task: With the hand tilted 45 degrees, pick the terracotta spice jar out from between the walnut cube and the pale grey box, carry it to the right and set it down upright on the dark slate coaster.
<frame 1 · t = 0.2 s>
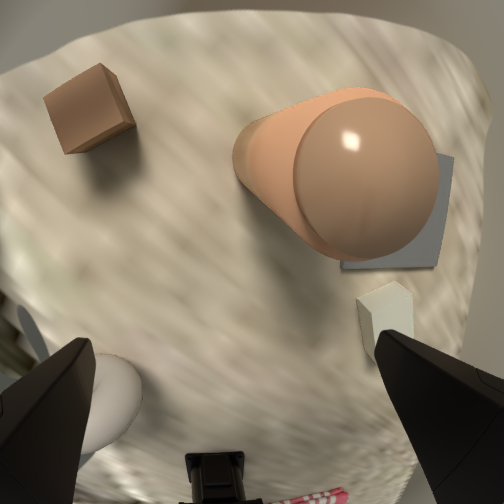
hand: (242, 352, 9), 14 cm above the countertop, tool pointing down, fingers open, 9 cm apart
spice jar: (273, 157, 22), on the countertop
slate coaster: (400, 207, 24), on the countertop
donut: (98, 361, 25), on the countertop
walnut cube: (100, 113, 19), on the countertop
grey box: (378, 315, 28), on the countertop
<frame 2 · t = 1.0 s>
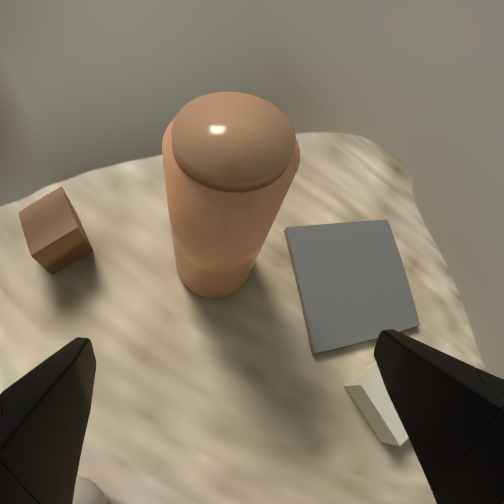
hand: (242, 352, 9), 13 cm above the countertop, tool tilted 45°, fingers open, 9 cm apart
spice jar: (213, 262, 24), on the countertop
slate coaster: (354, 280, 26), on the countertop
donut: (67, 494, 15), on the countertop
walnut cube: (64, 242, 23), on the countertop
grey box: (380, 399, 22), on the countertop
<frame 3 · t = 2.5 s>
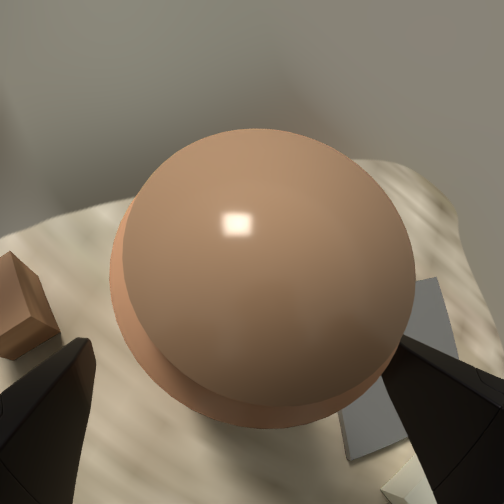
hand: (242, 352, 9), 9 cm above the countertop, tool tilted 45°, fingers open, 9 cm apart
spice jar: (220, 352, 17), on the countertop
slate coaster: (399, 362, 19), on the countertop
walnut cube: (25, 318, 16), on the countertop
grey box: (418, 491, 15), on the countertop
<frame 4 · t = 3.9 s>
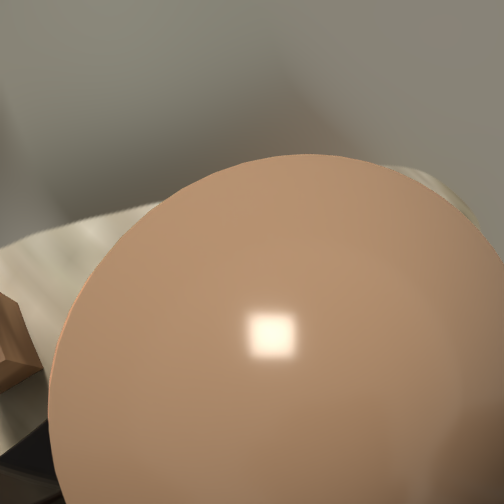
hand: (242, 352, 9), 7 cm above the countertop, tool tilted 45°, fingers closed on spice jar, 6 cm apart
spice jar: (226, 394, 14), on the countertop, touching gripper
walnut cube: (5, 350, 13), on the countertop
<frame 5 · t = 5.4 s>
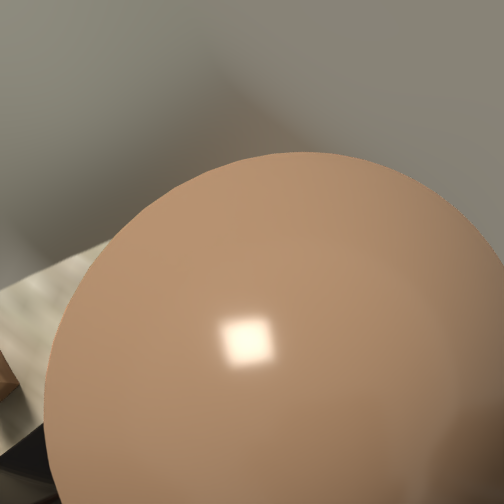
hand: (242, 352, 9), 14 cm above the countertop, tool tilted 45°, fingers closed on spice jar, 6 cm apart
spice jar: (225, 394, 14), point 7 cm above the countertop, touching gripper
when the fingers open (8 cm above the countertop, at t = 7.1 s): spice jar drops 1 cm, resting on slate coaster.
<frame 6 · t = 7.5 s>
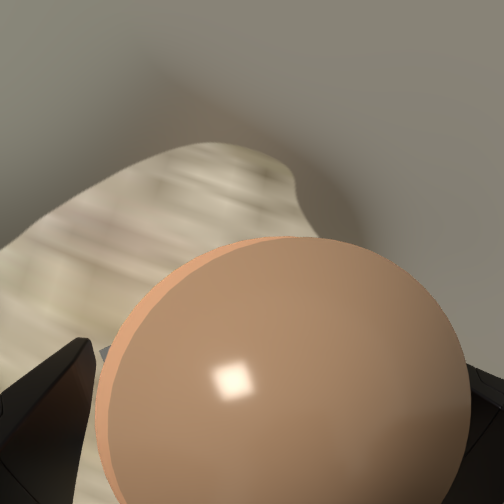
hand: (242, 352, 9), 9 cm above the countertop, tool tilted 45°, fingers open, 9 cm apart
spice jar: (224, 396, 16), point 1 cm above the countertop, touching slate coaster
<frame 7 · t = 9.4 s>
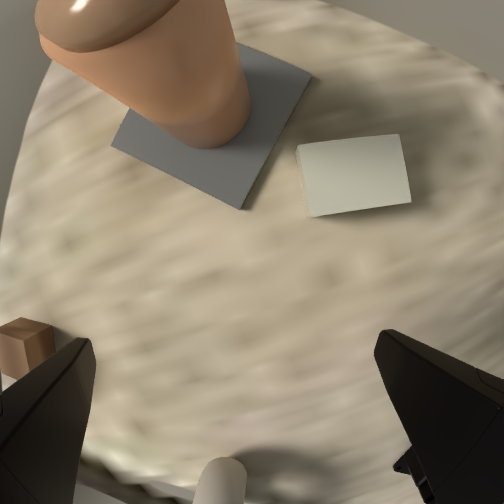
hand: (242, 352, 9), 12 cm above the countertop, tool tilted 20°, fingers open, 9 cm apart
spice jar: (207, 107, 19), point 1 cm above the countertop, touching slate coaster
slate coaster: (208, 108, 20), on the countertop
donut: (227, 470, 23), on the countertop
walnut cube: (39, 341, 23), on the countertop
grey box: (346, 178, 20), on the countertop
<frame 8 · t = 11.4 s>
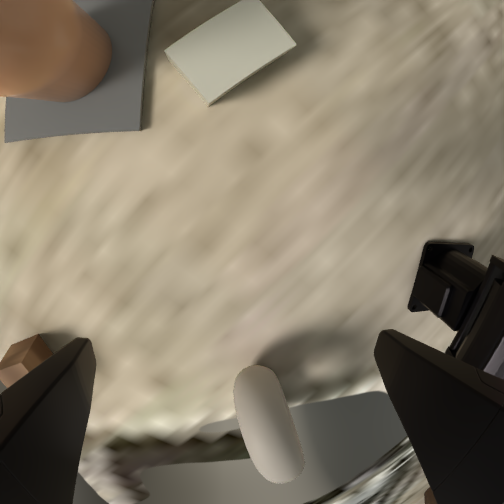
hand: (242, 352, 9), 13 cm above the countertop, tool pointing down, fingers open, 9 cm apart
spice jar: (71, 60, 15), point 1 cm above the countertop, touching slate coaster
plant pot: (436, 485, 52), on the countertop
slate coaster: (73, 61, 15), on the countertop
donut: (258, 380, 27), on the countertop
walnut cube: (37, 356, 23), on the countertop
grey box: (226, 56, 17), on the countertop
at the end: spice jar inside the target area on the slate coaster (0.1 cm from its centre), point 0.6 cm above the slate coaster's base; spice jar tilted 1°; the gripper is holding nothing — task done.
